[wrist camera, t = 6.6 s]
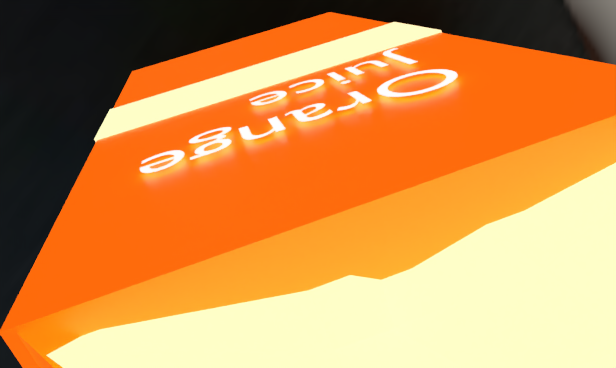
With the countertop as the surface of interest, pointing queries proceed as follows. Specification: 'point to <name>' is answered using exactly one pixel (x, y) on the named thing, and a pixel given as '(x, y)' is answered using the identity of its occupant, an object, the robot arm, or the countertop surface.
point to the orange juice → (338, 210)
